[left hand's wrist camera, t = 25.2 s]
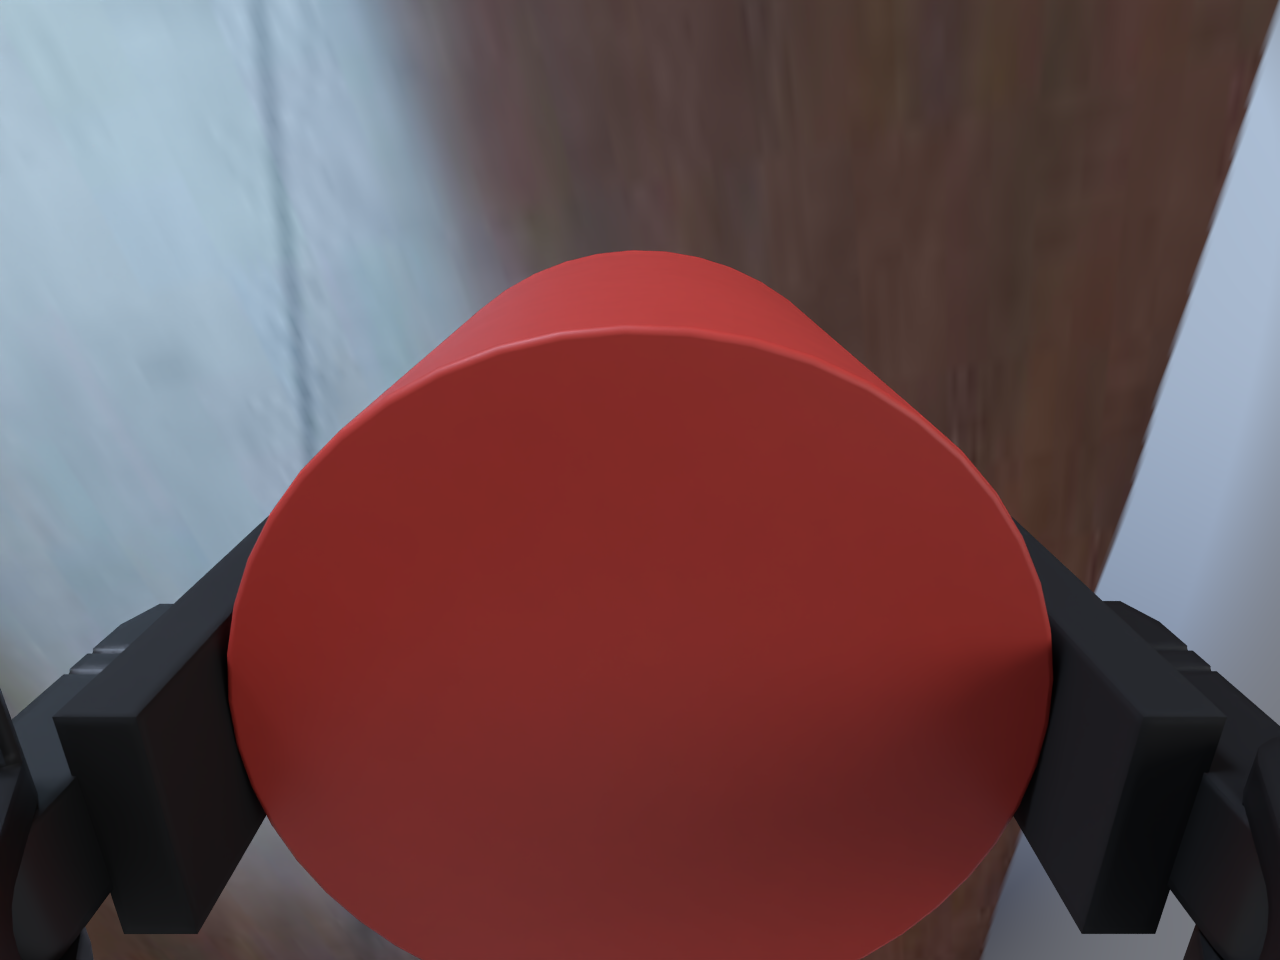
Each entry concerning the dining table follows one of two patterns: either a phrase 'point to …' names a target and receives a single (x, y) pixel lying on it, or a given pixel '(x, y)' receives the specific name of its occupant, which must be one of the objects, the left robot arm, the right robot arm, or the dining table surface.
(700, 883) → the canister
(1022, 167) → the dining table surface
